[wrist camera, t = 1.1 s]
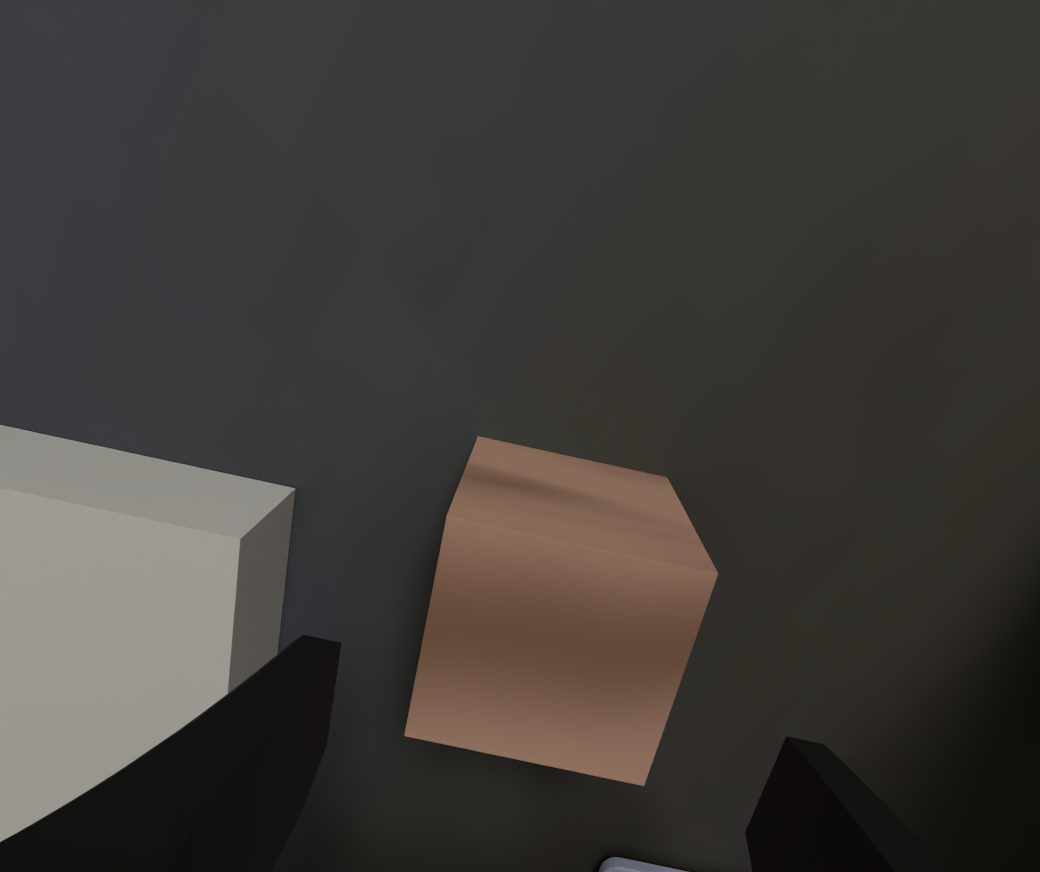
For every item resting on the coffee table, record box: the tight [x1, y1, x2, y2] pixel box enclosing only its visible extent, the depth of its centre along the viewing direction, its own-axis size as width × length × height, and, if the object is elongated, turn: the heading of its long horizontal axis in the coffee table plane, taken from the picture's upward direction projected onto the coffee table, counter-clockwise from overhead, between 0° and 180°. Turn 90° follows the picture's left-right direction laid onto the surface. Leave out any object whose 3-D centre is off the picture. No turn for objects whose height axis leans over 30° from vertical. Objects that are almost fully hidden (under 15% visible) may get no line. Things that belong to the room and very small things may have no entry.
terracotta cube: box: [404, 436, 718, 786], centre depth 14 cm, size 5×5×5 cm
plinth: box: [0, 425, 296, 842], centre depth 16 cm, size 12×12×3 cm
